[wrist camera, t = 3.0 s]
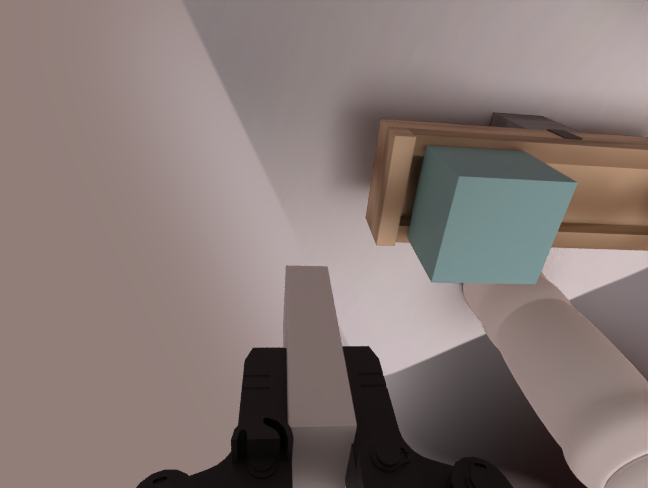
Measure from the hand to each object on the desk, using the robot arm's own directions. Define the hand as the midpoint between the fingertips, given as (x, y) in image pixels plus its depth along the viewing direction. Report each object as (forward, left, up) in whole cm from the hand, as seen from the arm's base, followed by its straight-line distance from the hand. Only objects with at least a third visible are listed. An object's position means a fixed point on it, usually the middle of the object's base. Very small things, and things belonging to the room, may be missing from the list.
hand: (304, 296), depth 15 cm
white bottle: (+12, +20, -19) cm, 30 cm away
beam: (0, +17, -19) cm, 26 cm away
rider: (0, +10, -12) cm, 16 cm away
